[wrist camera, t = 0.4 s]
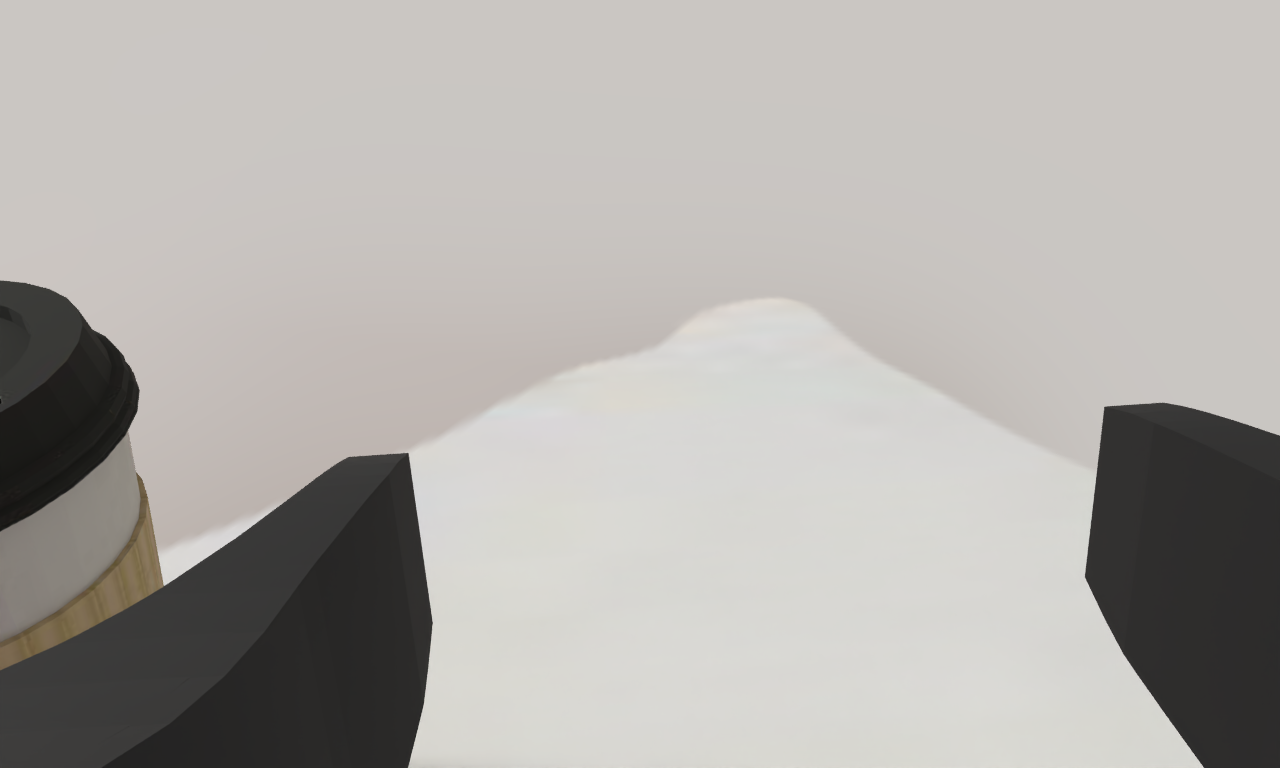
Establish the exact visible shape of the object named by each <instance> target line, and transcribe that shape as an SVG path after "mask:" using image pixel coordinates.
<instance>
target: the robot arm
mask: <svg viewBox="0 0 1280 768" xmlns="http://www.w3.org/2000/svg"><path fill="white" fill-rule="evenodd" d="M1085 578H1086V580H1087V582H1088V584H1089V587H1090V589H1091V591H1092V593H1093V595H1094V597H1095V599H1096V601H1097V603H1098V605H1099V607H1100V610H1101V612H1102V614H1103V616H1104V618H1105V620H1106V622H1107V624H1108V626H1109V628H1110V629H1111V631H1112V633H1113V635H1114V637H1115V639H1116V641H1117V643H1118V645H1119V646H1120V648H1121V650H1122V652H1123V654H1124V655H1125V657H1126V658H1127V660H1128V661H1129V663H1130V664H1131V666H1132V667H1133V669H1134V670H1135V672H1136V673H1137V675H1138V676H1139V677H1140V679H1141V680H1142V682H1143V683H1144V684H1145V686H1146V687H1147V689H1148V690H1149V692H1150V693H1151V694H1152V696H1153V697H1154V699H1155V700H1156V701H1157V703H1158V704H1159V706H1160V707H1161V709H1162V710H1163V711H1164V713H1165V714H1166V716H1167V717H1168V718H1169V720H1170V721H1171V723H1172V724H1173V725H1174V727H1175V728H1176V729H1177V731H1178V732H1179V734H1180V735H1181V736H1182V738H1183V739H1184V741H1185V742H1186V743H1187V745H1188V746H1189V747H1190V749H1191V750H1192V752H1193V753H1194V754H1195V756H1196V757H1197V759H1198V760H1199V761H1200V763H1201V764H1202V765H1203V767H1204V768H1280V436H1279V435H1276V434H1273V433H1270V432H1266V431H1264V430H1261V429H1258V428H1255V427H1252V426H1249V425H1246V424H1243V423H1240V422H1237V421H1234V420H1231V419H1227V418H1224V417H1220V416H1217V415H1214V414H1211V413H1207V412H1203V411H1200V410H1196V409H1192V408H1188V407H1183V406H1178V405H1173V404H1167V403H1152V404H1139V405H1123V406H1108V407H1104V416H1103V425H1102V434H1101V443H1100V451H1099V459H1098V468H1097V477H1096V485H1095V494H1094V503H1093V511H1092V520H1091V529H1090V537H1089V546H1088V555H1087V564H1086V572H1085ZM432 624H433V622H432V615H431V608H430V601H429V594H428V587H427V580H426V573H425V566H424V559H423V552H422V545H421V538H420V531H419V524H418V517H417V510H416V503H415V496H414V489H413V482H412V475H411V468H410V461H409V454H408V453H402V454H387V455H372V456H358V457H348V458H346V459H344V460H343V461H341V462H339V463H337V464H336V465H334V466H333V467H331V468H330V469H329V470H327V471H326V472H324V473H323V474H322V475H320V476H319V477H317V478H316V479H315V480H314V481H312V482H311V483H309V484H308V485H307V486H305V487H304V488H303V489H301V490H300V491H299V492H297V493H296V494H295V495H293V496H292V497H291V498H290V499H288V500H287V501H286V502H284V503H283V504H282V505H280V506H279V507H277V508H276V509H275V510H273V511H272V512H271V513H269V514H268V515H267V516H265V517H264V518H263V519H261V520H260V521H259V522H257V523H256V524H255V525H253V526H252V527H251V528H249V529H248V530H247V531H245V532H244V533H243V534H241V535H240V536H238V537H237V538H236V539H234V540H233V541H231V542H230V543H228V544H227V545H225V546H224V547H222V548H221V549H219V550H218V551H216V552H215V553H213V554H212V555H210V556H209V557H207V558H206V559H204V560H203V561H201V562H200V563H198V564H197V565H195V566H194V567H192V568H191V569H189V570H188V571H186V572H185V573H183V574H182V575H181V576H179V577H178V578H176V579H175V580H173V581H172V582H170V583H169V584H167V585H165V586H164V587H162V588H160V589H159V590H157V591H156V592H154V593H152V594H151V595H149V596H147V597H146V598H144V599H142V600H140V601H139V602H137V603H135V604H133V605H132V606H130V607H128V608H127V609H125V610H123V611H121V612H119V613H117V614H116V615H114V616H112V617H110V618H108V619H106V620H104V621H102V622H101V623H99V624H97V625H95V626H93V627H91V628H89V629H88V630H86V631H84V632H82V633H80V634H78V635H76V636H74V637H72V638H70V639H68V640H66V641H64V642H62V643H60V644H58V645H56V646H54V647H51V648H49V649H47V650H45V651H42V652H40V653H38V654H36V655H33V656H31V657H29V658H27V659H24V660H22V661H20V662H18V663H16V664H13V665H11V666H9V667H7V668H4V669H2V670H0V768H408V765H409V761H410V757H411V753H412V749H413V746H414V742H415V738H416V734H417V730H418V726H419V722H420V717H421V713H422V709H423V705H424V698H425V689H426V681H427V673H428V664H429V654H430V644H431V634H432Z"/></svg>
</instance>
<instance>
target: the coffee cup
mask: <svg viewBox="0 0 1280 768" xmlns="http://www.w3.org/2000/svg"><path fill="white" fill-rule="evenodd" d="M138 400H139V387H138V384H137V382H136V379H135V376H134V373H133V372H132V369H131V368H130V366H129V365H128V364H127V363H126V362H125V359H124V356H123V355H122V353H121V352H120V351H119V350H118V349H117V348H116V347H115V346H114V345H113V344H112V343H111V342H110V341H109V340H108V339H107V338H106V337H105V336H103V335H102V334H100V333H98V332H96V331H94V330H92V329H91V327H90V326H89V325H88V323H87V322H86V320H85V319H84V317H83V316H82V315H81V313H80V312H79V310H78V309H77V308H76V307H75V306H74V305H73V304H72V303H71V302H70V301H69V300H68V299H67V298H66V297H64V296H62V295H59V294H58V293H56V292H54V291H52V290H50V289H46V288H43V287H39V286H35V285H31V284H27V283H19V282H10V281H0V670H2V669H4V668H7V667H9V666H11V665H13V664H16V663H18V662H20V661H22V660H24V659H27V658H29V657H31V656H33V655H36V654H38V653H40V652H42V651H45V650H47V649H49V648H51V647H54V646H56V645H58V644H60V643H62V642H64V641H66V640H68V639H70V638H72V637H74V636H76V635H78V634H80V633H82V632H84V631H86V630H88V629H89V628H91V627H93V626H95V625H97V624H99V623H101V622H102V621H104V620H106V619H108V618H110V617H112V616H114V615H116V614H117V613H119V612H121V611H123V610H125V609H127V608H128V607H130V606H132V605H133V604H135V603H137V602H139V601H140V600H142V599H144V598H146V597H147V596H149V595H151V594H152V593H154V592H156V591H157V590H159V589H160V588H162V587H164V585H163V580H162V574H161V569H160V563H159V557H158V552H157V546H156V541H155V535H154V530H153V524H152V519H151V513H150V508H149V503H148V497H147V494H146V490H145V487H144V484H143V481H142V479H141V477H140V476H139V475H138V474H137V473H136V471H135V465H134V460H133V455H132V449H131V443H130V438H129V433H128V429H129V427H130V425H131V423H132V421H133V419H134V417H135V415H136V413H137V409H138Z"/></svg>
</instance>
